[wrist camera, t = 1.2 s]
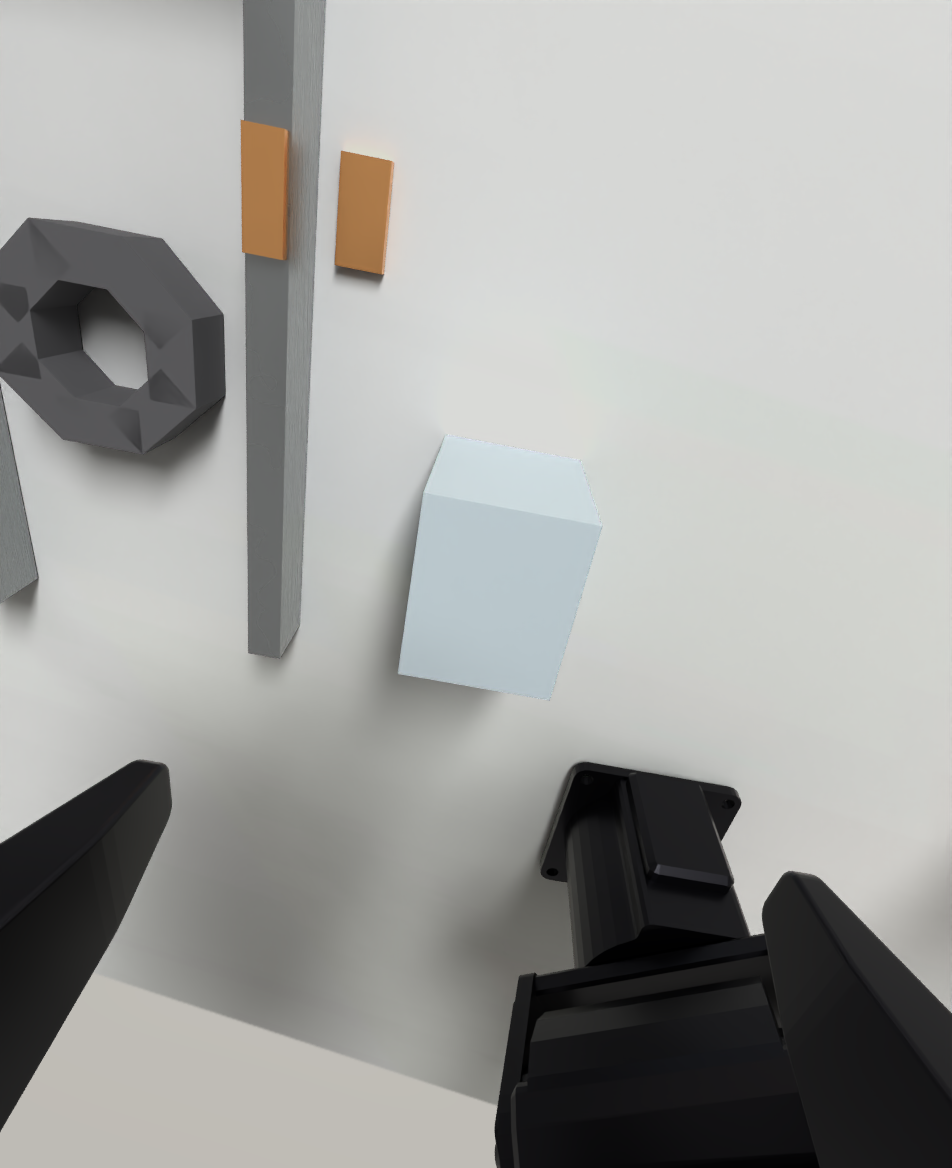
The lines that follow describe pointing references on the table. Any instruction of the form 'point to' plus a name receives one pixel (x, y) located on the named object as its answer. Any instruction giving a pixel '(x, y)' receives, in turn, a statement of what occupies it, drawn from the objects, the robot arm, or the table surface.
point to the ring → (53, 341)
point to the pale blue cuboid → (498, 567)
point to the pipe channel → (267, 305)
